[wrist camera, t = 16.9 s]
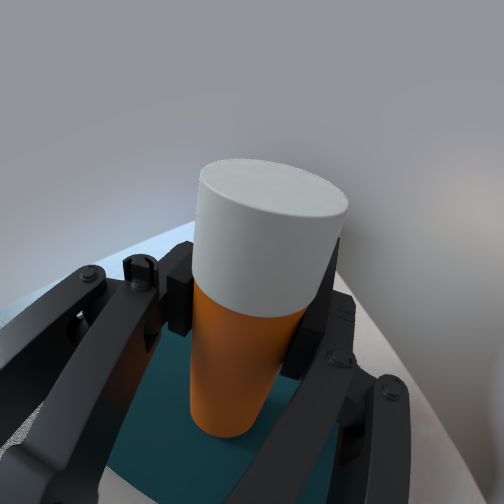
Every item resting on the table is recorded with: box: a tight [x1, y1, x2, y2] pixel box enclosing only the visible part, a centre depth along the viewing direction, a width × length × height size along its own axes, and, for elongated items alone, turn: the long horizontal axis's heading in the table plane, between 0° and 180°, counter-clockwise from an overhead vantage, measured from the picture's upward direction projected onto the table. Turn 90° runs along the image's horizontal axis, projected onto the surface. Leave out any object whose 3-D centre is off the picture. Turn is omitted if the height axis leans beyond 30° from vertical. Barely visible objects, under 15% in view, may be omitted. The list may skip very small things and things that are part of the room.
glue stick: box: [190, 159, 349, 438], centre depth 11 cm, size 4×4×13 cm
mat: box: [44, 321, 339, 504], centre depth 15 cm, size 18×14×1 cm
